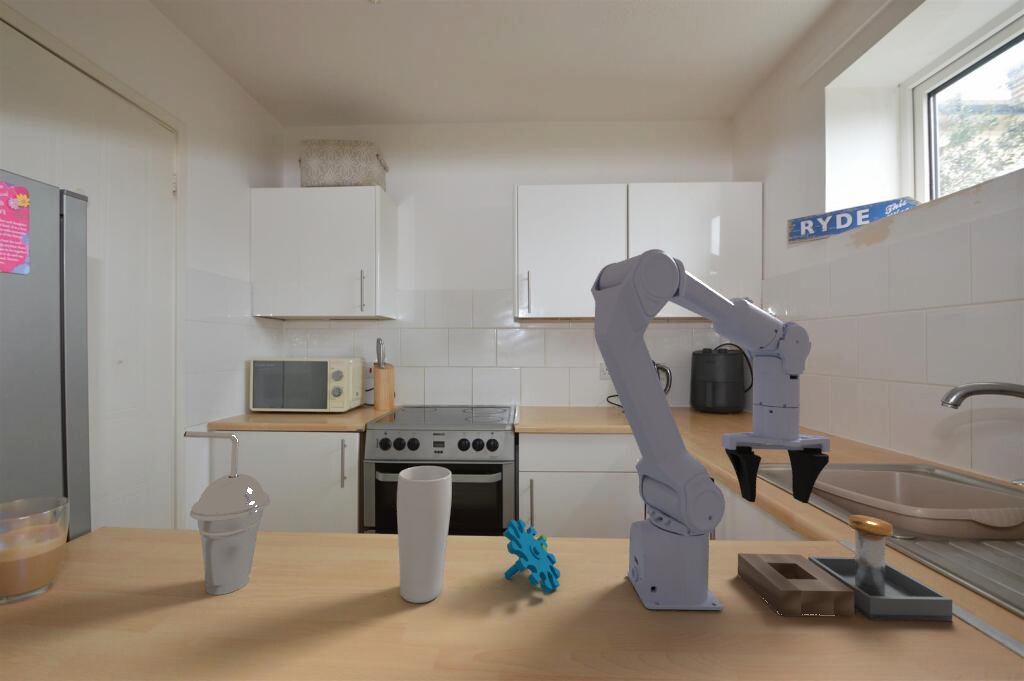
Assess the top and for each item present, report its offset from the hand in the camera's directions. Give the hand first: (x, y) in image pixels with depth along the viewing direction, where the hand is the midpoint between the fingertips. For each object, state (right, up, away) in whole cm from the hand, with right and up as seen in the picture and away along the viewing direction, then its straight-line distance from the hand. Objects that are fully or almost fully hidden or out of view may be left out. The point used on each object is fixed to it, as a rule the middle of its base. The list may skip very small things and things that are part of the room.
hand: (774, 500), depth 59 cm
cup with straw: (-74, -8, -7) cm, 75 cm away
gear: (-35, -10, -4) cm, 36 cm away
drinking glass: (-49, -9, -7) cm, 50 cm away
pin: (+9, -10, -5) cm, 15 cm away
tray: (+10, -11, -5) cm, 15 cm away
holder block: (-1, -10, -5) cm, 12 cm away
